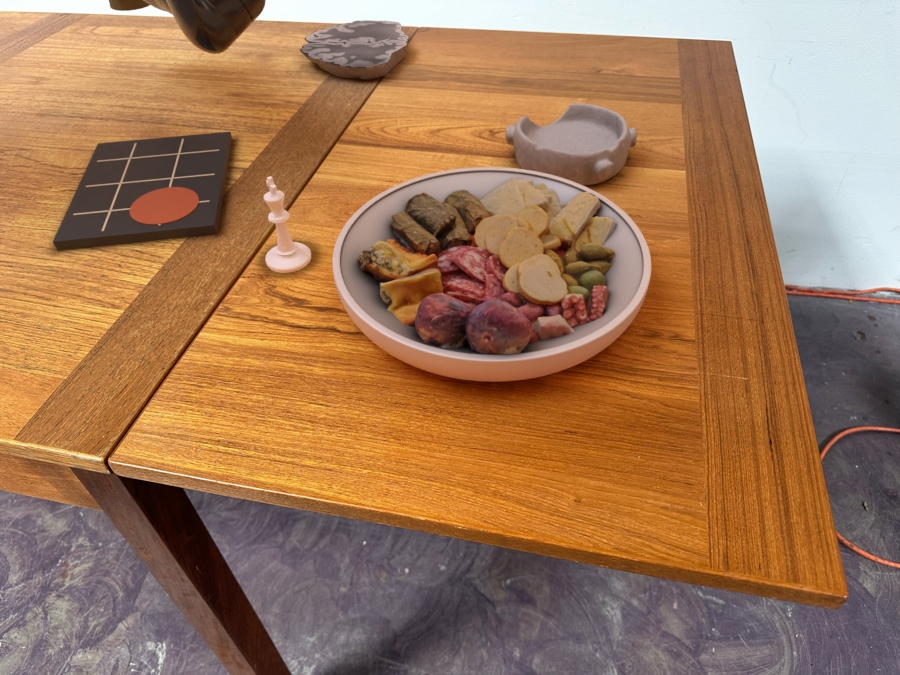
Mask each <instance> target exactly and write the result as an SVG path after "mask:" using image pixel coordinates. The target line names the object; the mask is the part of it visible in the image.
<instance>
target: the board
mask: <svg viewBox="0 0 900 675" xmlns="http://www.w3.org/2000/svg"><path fill="white" fill-rule="evenodd" d="M232 145H233V137H232V132H231V131H223V132H222V131H221V132H210V133H199V134H187V135H177V136H168V137H167V136H165V137H164V136H163V137H154V138H142V139H131V140H121V141H110V142H108V141H107V142H99V143H98V142H97V145H96V147H95V149H94V151H93V153H92V155H91V158H90V160H89V162H88V164H87V166H86V169H85V171H84V173H83V174H82V177H81V179H80V181H79V184H78V186H77V188H76V191H75V192H74V194H73V197H72V199H71V201H70V203H69V206H68V208H67V210H66V212H65V213H64V216H63V219H62V221H61V223H60V225H59V227H58V229H57V231H56V234H55V235H54V237H53V240H52V244H53V245H54V247H55V249H56V251H58V252H59V251H68V250H77V249H88V248H97V247H105V246H106V247H107V246H116V245H126V244H135V243H145V242H146V243H147V242H155V241H163V240H164V241H165V240H174V239H181V238H182V239H183V238H192V237H203V236H212V235H218V232H219V225H220V219H221V212H222V206H223V200H224V195H225V189H226V182H227V176H228V170H229V163H230V159H231V158H230V157H231V151H232Z"/></svg>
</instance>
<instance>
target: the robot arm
mask: <svg viewBox="0 0 900 675" xmlns="http://www.w3.org/2000/svg"><path fill="white" fill-rule="evenodd" d="M143 1H144V2H146V3H148V4H150V5H149V6H151V7H154V8H155V9H158V10H160V11H163V12H167V13H169V14H170V15H172V17H173V18H174V20H175V22H176V24H177V25H178V28H180V30H181V33H183V35H184V36H185V37H186V39H187V40H188V42H190V43H191V44H192V45H193V46H194V47H196V48H197V49H199V50H201V51H202V52H205V53H208V54H212V55H218V54H222V53H224V52H226V51H227V50H228V49H229V48H230V47H231V46H232V45H233V44H234V43H236V41H237V40H238V39H239V37H241V36H242V34H243V33H244V32H245V31H246V30H247V29H248V28H249V27H250V26H251V25H252V24H253V23H254V22H255V20H257V19H258V18H259V16H260V15H261V14H262V12H263V11H264V9H265V7H266V2H267V0H143Z"/></svg>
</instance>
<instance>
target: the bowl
mask: <svg viewBox="0 0 900 675" xmlns="http://www.w3.org/2000/svg"><path fill="white" fill-rule="evenodd" d="M337 236H338V237H337V239H336V241H335V243H334V248H333V251H332V259H331V260H332V274H333V280H334V284H335V288H336V292H337V295H338V297H339V300H340V302H341V305H342V307H343V308H344V310H345V312H346V313H347V315H348V317H349V318H350V319H351V321H352V322H353V324H354V325H355V326H356V328H358V329H359V331H360V332H361V333H363V335H365V336H366V337H367V339H368V340H370V341H371V342H372V343H373V344H374V345H376V346H377V347H379V348H380V349H381V350H382V351H384V352H385V353H387V354H388V355H390V356H392V357H394V358H396V359H397V360H399V361H401V362H403V363H405V364H407V365H409V366H412V367H414V368H417V369H420V370H422V371H425V372H428V373H431V374H435V375H439V376H442V377H447V378H453V379H457V380H463V381H471V382H472V381H474V382H491V383H493V382H497V383H498V382H515V381H522V380H524V381H525V380H529V379H535V378H540V377H545V376H549V375H553V374H556V373H558V372H562V371H565V370H567V369H570V368H572V367H575V366H577V365H579V364H581V363H583V362H586V361H587V360H589V359H591V358H593V357H594V356H596V355H598V354H599V353H601V352H602V351H604V350H605V349H606V348H608V347H609V346H610V345H611V344H613V343H614V342H615V341H616V340H618V338H620V336H621V335H622V334H623V333H624V332H625V331H627V329H628V327H630V325H631V324H632V323H633V321H634V320H635V318H636V317H637V315H638V313H639V312H640V310H641V308H642V306H643V304H644V301H645V299H646V297H647V293H648V289H649V287H650V282H651V277H652V256H651V252H650V248H649V245H648V242H647V240H646V238H645V236H644V235H643V232H642V230H641V229H640V228H639V226H638V224H636V222H635V221H634V220H633V219H632V217H630V216H629V214H627V213H626V212H625V211H624V210H623V209H622V208H621V207H619V206H618V205H617V204H616V203H615V202H613V201H612V200H610V199H609V198H607V197H605V196H604V195H602V194H601V193H599V192H598V191H595V190H594V189H591V188H589V187H587V186H586V185H581V184H578V183H576V182H573V181H570V180H567V179H564V178H561V177H558V176H554V175H550V174H546V173H542V172H537V171H531V170H525V169H522V168H516V167H515V168H514V167H506V166H505V167H503V166H474V167H462V168H453V169H448V170H447V169H446V170H442V171H435V172H432V173H428V174H424V175H421V176H418V177H414V178H411V179H408V180H406V181H403V182H400V183H398V184H396V185H393V186H391V187H389V188H387V189H385V190H384V191H382V192H380V193H378V194H377V195H375V196H374V197H372V198H370V199H369V200H368V201H366V202H365V203H364V204H363V205H361V207H359V208H358V209H357V210H356V211H355V212H354V213H353V214H352V215H351V216H350V218H349V219H348V220H347V221H346V223H345V224H344V226H343V227H342V229H341V230H340V232H339V234H338V235H337Z"/></svg>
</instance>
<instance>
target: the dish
mask: <svg viewBox="0 0 900 675" xmlns="http://www.w3.org/2000/svg"><path fill="white" fill-rule="evenodd" d="M504 131H505V132H504V134H505V141H506V143H507V144H508V145H510V146H511V145H512V146H513V149H514V150H513V151H514V155H515V160H516V163H517V165H518V166H519V167H520V169H525V170H531V171H537V172H542V173H546V174H550V175H554V176H558V177H561V178H564V179H567V180H570V181H573V182H576V183H578V184H581V185H583V186H591V185H596V184H597V185H598V184H600V183H603V182H605V181H608V180H610V179H611V178H612V177H614V176H616V175H617V174H619V172H621V170H622V169H623V168H624V166H625V165H626V162H627V159H628V155H629V152H630V148H634V147H635V146H636V145H637V136H638V134H637V128H635V127H628V123H627V120H626V118H625V117H623V116H622V115H621V114H620V113H618V112H616V111H615V110H613V109H609V108H607V107H604V106H600V105H596V104H592V103H580V102H573V103H570V104H569V106H567V108H566V109H565V111H564V112H563V113H562V114H561V115H560V116H559V117H558V118H557V119H556V120H554V121H553V122H551V123H549V124H545V125H538V124H537V123H535V122H534V121H532V120H531V118H529V116H528V115H523V116H521V117H519V119H518V120H517V122H516V123H515V124H509V125H508V126H507V127H506V128H505V130H504Z"/></svg>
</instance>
